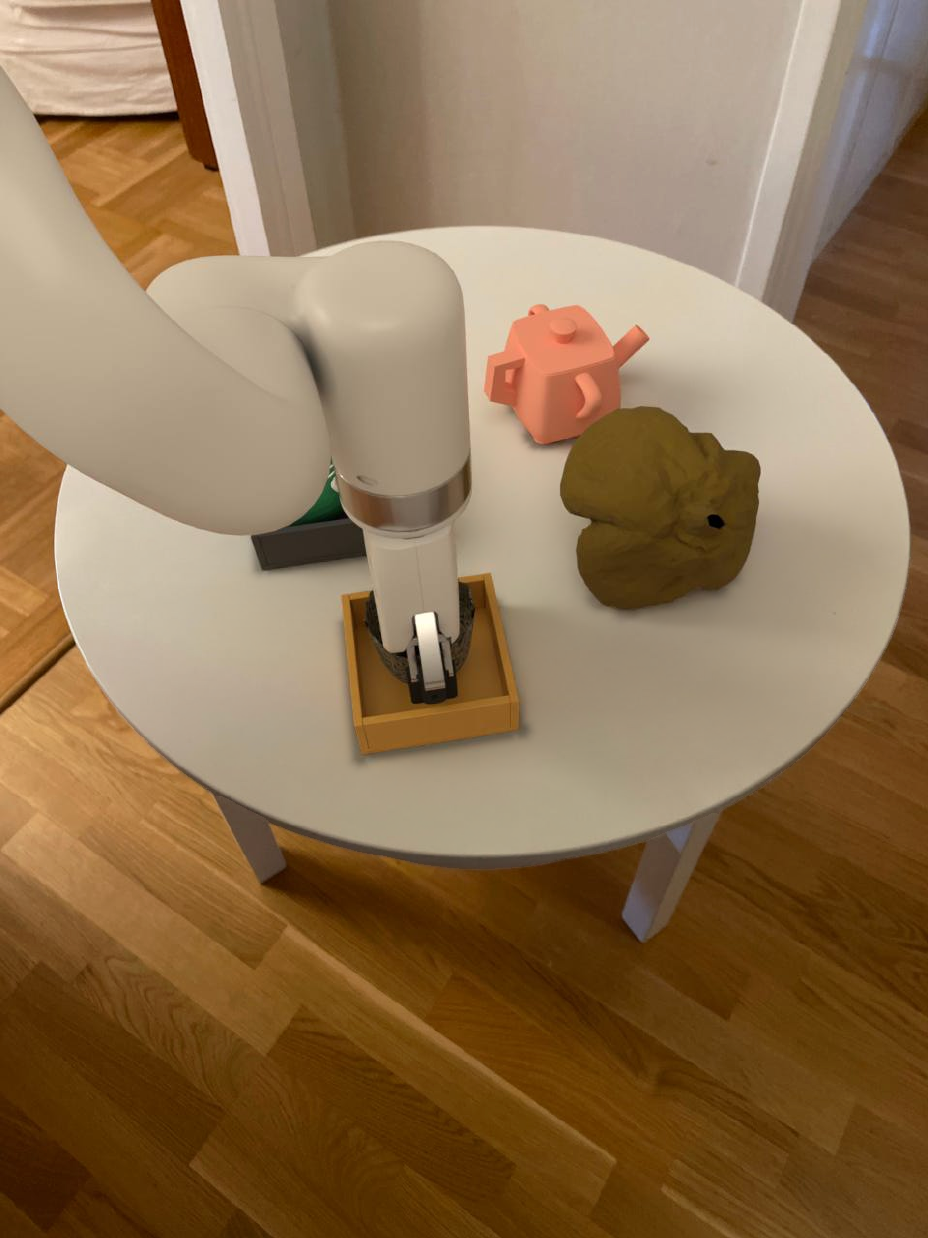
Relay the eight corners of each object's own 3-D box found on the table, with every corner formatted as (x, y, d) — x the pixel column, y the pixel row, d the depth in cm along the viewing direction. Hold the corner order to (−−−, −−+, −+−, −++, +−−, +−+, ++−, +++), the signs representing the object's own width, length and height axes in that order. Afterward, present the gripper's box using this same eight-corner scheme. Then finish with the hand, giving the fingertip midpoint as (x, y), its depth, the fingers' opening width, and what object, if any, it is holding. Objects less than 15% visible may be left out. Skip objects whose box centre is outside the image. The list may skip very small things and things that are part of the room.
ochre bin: (361, 755, 65) (354, 726, 62) (348, 626, 72) (340, 594, 68) (518, 730, 66) (519, 700, 63) (491, 605, 72) (490, 572, 69)
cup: (360, 697, 67) (344, 635, 61) (402, 619, 71) (390, 552, 65) (456, 729, 65) (449, 668, 59) (493, 647, 69) (490, 581, 63)
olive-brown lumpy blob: (699, 658, 69) (739, 532, 57) (527, 585, 73) (533, 455, 62) (761, 534, 76) (808, 400, 64) (601, 475, 80) (618, 340, 69)
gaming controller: (318, 547, 78) (363, 512, 74) (281, 526, 76) (325, 489, 72) (328, 468, 83) (370, 432, 80) (293, 446, 81) (335, 408, 78)
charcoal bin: (261, 570, 75) (250, 537, 72) (257, 448, 84) (246, 414, 80) (411, 549, 76) (406, 515, 73) (392, 430, 84) (387, 395, 81)
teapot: (644, 391, 86) (658, 301, 78) (591, 474, 80) (601, 385, 72) (532, 355, 90) (534, 265, 82) (473, 432, 84) (470, 343, 76)
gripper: (325, 376, 56) (362, 560, 71) (349, 604, 46) (386, 765, 60) (447, 360, 57) (459, 546, 71) (498, 582, 47) (500, 747, 61)
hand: (426, 646), depth 66 cm, fingers open, 7 cm apart
